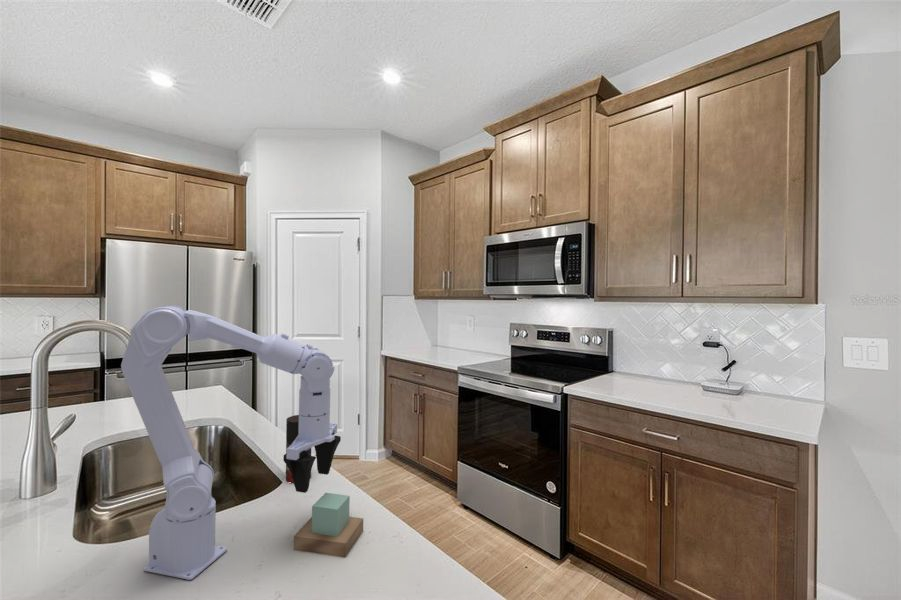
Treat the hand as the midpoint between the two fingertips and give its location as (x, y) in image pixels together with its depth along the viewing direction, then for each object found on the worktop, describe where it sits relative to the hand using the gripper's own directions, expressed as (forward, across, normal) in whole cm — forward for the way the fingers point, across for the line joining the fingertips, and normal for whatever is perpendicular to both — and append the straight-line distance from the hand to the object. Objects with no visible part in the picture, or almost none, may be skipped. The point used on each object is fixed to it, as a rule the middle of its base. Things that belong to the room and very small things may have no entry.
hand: (313, 481), depth 78 cm
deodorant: (+10, +19, +16) cm, 27 cm away
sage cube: (+7, -2, -5) cm, 9 cm away
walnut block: (+10, -2, -5) cm, 11 cm away
